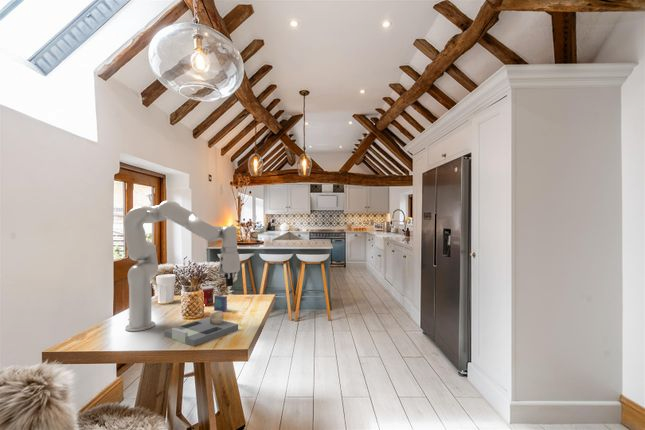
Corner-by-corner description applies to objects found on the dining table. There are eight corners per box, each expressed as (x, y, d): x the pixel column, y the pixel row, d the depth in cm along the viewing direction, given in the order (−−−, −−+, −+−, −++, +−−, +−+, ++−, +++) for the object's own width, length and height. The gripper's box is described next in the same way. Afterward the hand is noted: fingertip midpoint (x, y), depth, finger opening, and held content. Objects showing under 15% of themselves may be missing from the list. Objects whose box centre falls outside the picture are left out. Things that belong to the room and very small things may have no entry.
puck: (207, 323, 153) (207, 312, 153) (217, 319, 158) (217, 309, 158) (215, 325, 150) (215, 314, 150) (225, 321, 155) (225, 311, 155)
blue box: (227, 311, 182) (227, 292, 182) (224, 312, 179) (224, 293, 179) (216, 309, 186) (216, 291, 186) (212, 310, 184) (212, 292, 184)
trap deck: (164, 335, 143) (164, 325, 143) (209, 321, 163) (209, 312, 163) (193, 346, 131) (193, 335, 131) (238, 329, 151) (238, 320, 151)
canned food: (209, 306, 191) (209, 288, 192) (197, 306, 193) (197, 288, 193) (215, 303, 199) (215, 286, 199) (204, 302, 201) (204, 285, 201)
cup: (178, 300, 208) (178, 274, 208) (171, 304, 197) (171, 277, 197) (160, 300, 207) (160, 274, 207) (152, 305, 196) (152, 277, 196)
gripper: (222, 251, 153) (222, 289, 152) (245, 249, 165) (245, 284, 165) (212, 251, 157) (212, 287, 156) (236, 248, 169) (236, 282, 169)
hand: (229, 285), depth 161 cm, fingers closed
